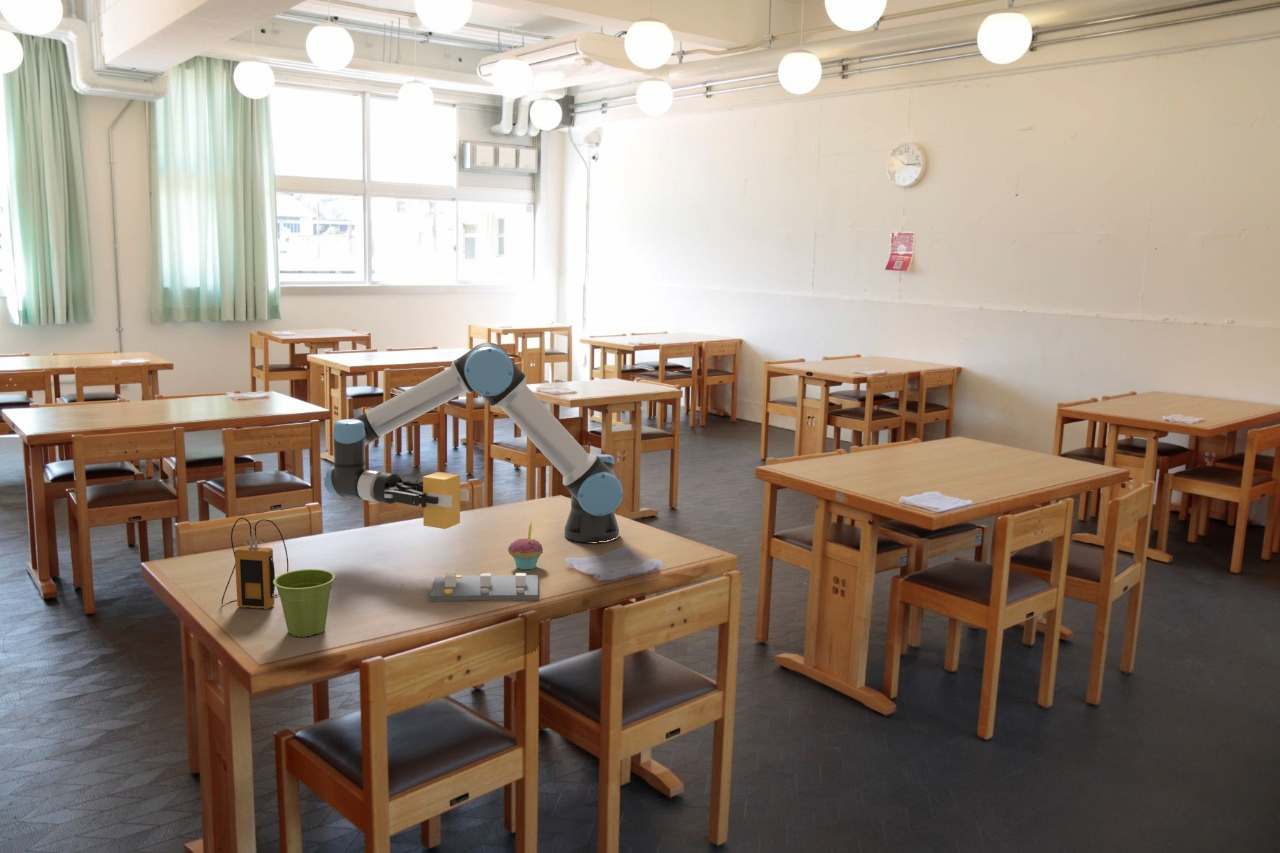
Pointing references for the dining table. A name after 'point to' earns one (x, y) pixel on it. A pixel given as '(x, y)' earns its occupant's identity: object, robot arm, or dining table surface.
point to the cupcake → (526, 551)
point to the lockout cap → (444, 486)
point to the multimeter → (254, 573)
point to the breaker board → (485, 587)
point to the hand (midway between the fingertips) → (459, 498)
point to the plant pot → (305, 600)
